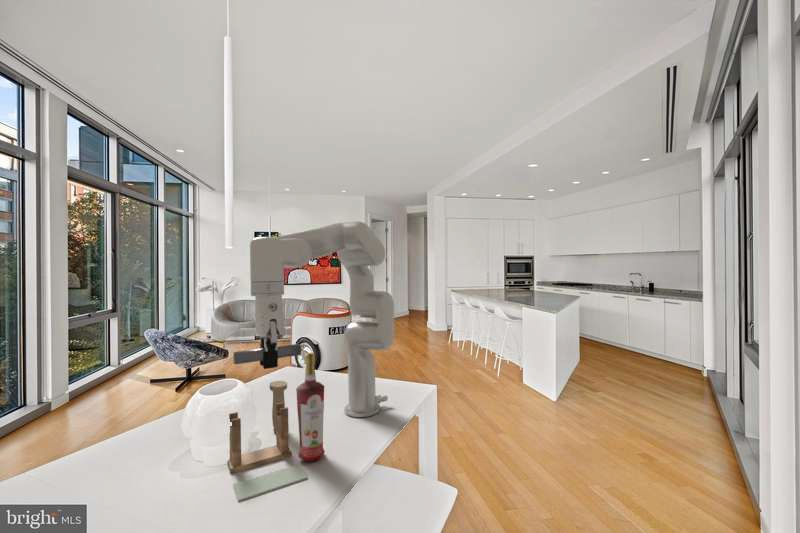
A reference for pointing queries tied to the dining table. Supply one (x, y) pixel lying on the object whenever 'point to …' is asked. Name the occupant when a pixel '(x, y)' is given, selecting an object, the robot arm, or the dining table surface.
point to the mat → (269, 482)
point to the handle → (277, 397)
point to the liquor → (310, 413)
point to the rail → (258, 354)
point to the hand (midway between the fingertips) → (268, 365)
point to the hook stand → (262, 455)
